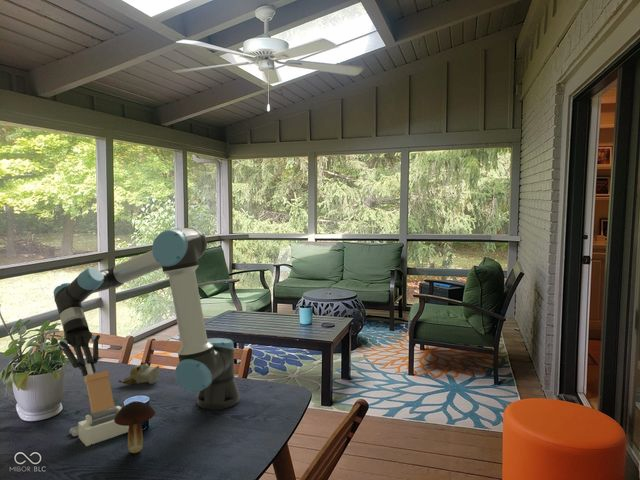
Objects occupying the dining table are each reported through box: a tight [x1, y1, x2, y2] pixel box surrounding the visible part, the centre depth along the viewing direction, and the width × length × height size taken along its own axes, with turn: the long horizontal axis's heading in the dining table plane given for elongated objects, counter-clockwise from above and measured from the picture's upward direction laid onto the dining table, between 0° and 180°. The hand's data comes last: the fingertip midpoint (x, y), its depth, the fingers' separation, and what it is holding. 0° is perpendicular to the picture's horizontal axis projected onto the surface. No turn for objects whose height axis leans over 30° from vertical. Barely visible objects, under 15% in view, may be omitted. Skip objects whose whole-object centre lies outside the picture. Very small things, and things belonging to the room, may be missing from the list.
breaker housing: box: [68, 405, 129, 447], centre depth 145 cm, size 12×15×7 cm
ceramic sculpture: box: [118, 361, 160, 385], centre depth 186 cm, size 11×9×15 cm
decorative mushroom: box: [114, 400, 156, 454], centre depth 133 cm, size 11×11×15 cm
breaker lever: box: [83, 369, 117, 420], centre depth 145 cm, size 3×7×14 cm, turn 134°
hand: (92, 383), depth 149 cm, fingers closed
